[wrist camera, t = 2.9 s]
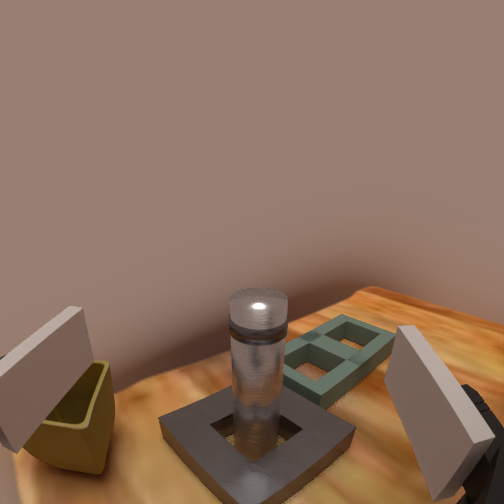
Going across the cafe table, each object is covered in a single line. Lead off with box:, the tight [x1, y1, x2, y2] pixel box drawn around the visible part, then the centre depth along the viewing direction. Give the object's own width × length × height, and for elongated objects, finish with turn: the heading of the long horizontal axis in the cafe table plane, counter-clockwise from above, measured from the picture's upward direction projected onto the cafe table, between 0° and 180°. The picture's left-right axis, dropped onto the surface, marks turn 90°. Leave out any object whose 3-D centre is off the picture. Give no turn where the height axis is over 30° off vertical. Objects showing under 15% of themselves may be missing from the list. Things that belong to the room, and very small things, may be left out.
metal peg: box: [229, 288, 288, 463], centre depth 24 cm, size 4×4×16 cm
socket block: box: [158, 385, 356, 504], centre depth 26 cm, size 13×13×3 cm
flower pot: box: [23, 360, 115, 474], centre depth 21 cm, size 9×9×9 cm
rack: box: [282, 314, 396, 409], centre depth 40 cm, size 10×18×3 cm, turn 131°
